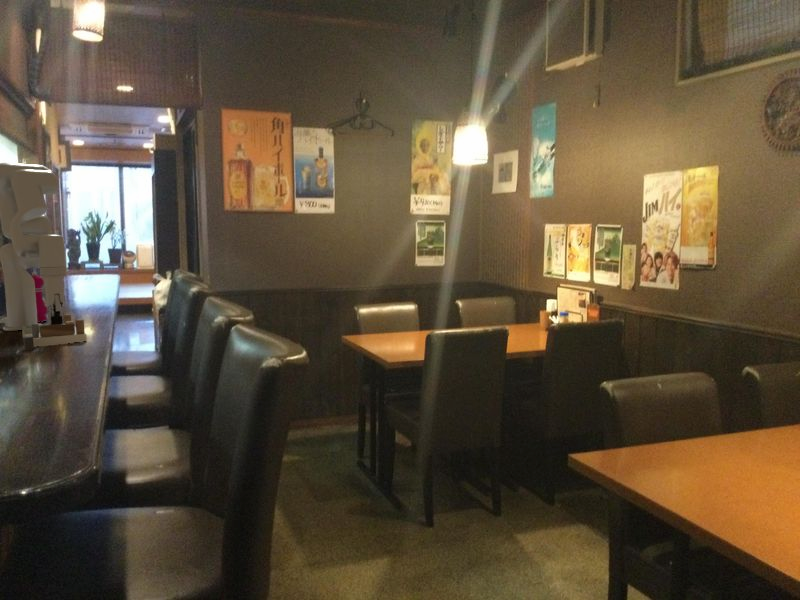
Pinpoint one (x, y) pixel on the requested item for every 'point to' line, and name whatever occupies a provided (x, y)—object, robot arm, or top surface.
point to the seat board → (34, 339)
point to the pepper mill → (39, 297)
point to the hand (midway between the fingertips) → (57, 327)
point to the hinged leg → (57, 329)
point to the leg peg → (49, 317)
